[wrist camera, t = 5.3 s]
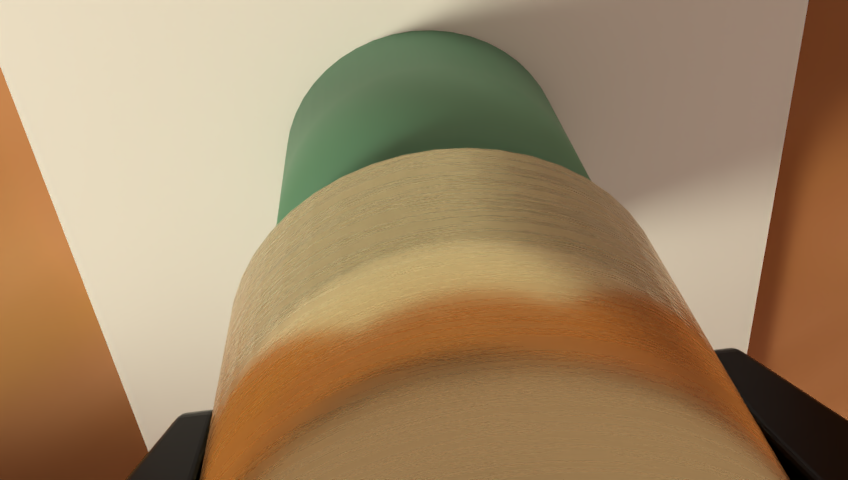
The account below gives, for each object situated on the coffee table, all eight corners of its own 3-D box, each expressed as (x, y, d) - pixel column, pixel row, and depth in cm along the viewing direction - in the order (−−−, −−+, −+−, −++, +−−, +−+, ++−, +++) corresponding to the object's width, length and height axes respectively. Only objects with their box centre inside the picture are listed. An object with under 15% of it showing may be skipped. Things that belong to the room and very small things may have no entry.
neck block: (711, 437, 20) (806, 626, 16) (187, 500, 20) (145, 709, 16) (864, -552, 10) (1211, -732, 6) (-161, -456, 10) (-520, -581, 6)
